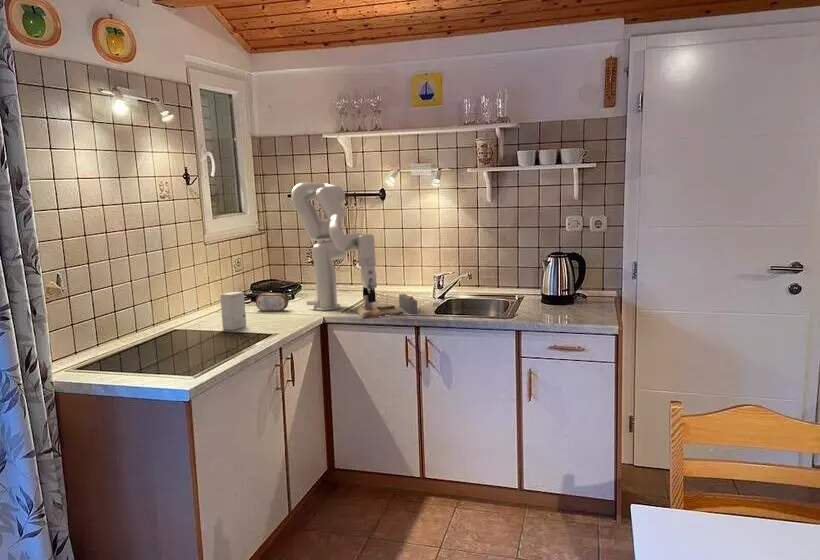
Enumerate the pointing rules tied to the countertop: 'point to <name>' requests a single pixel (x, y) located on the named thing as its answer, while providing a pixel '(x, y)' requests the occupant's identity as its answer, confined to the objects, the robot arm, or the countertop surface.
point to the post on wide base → (367, 308)
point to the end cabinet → (407, 304)
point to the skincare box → (233, 310)
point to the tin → (271, 302)
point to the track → (383, 313)
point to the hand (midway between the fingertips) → (369, 300)
